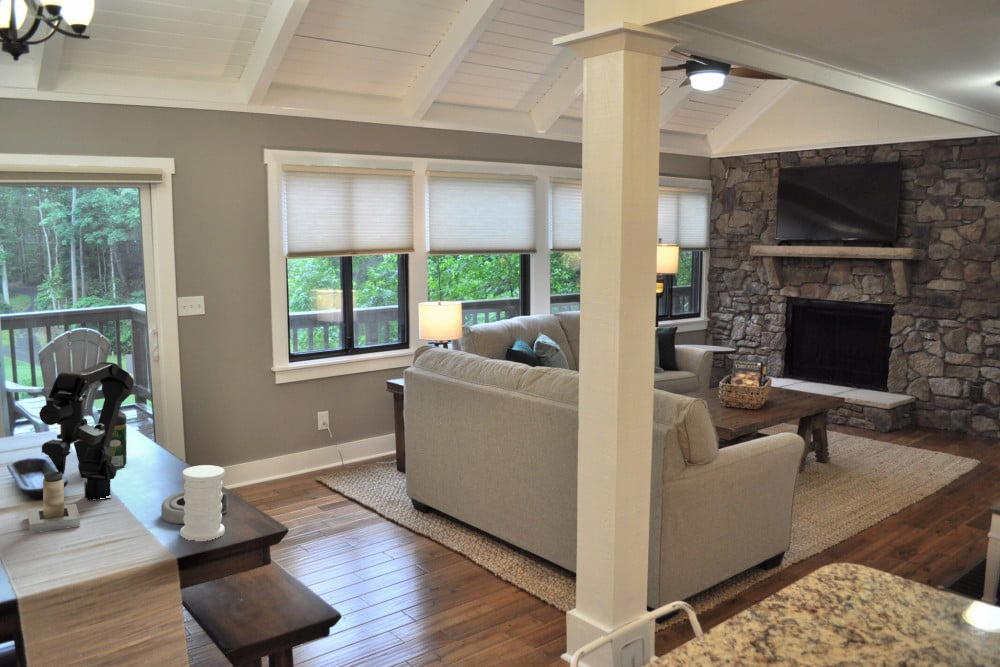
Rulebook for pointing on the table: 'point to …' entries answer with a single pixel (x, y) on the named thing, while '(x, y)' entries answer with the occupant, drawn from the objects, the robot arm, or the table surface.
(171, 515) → the turbocharger housing
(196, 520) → the decorative container
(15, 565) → the table surface
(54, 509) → the tan bottle
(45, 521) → the housing plate
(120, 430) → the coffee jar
